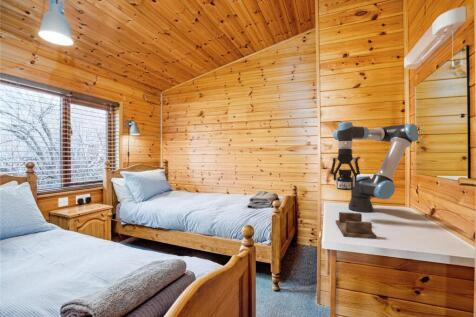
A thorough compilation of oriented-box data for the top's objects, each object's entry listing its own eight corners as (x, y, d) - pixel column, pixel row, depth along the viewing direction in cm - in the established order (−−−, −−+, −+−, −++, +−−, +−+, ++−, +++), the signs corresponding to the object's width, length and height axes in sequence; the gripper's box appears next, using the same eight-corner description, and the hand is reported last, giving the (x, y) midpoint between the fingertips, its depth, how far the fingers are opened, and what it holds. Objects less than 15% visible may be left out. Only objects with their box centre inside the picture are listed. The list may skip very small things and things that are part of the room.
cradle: (362, 224, 130) (362, 212, 129) (376, 238, 108) (376, 224, 108) (335, 222, 133) (335, 211, 133) (343, 236, 111) (343, 222, 111)
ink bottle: (333, 189, 141) (333, 169, 140) (340, 187, 146) (340, 168, 146) (350, 191, 133) (350, 170, 133) (356, 189, 139) (356, 169, 139)
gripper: (326, 148, 138) (326, 186, 139) (366, 148, 133) (366, 187, 134) (325, 148, 146) (325, 184, 146) (363, 148, 140) (362, 186, 141)
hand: (344, 186), depth 140 cm, fingers closed on ink bottle, 9 cm apart
